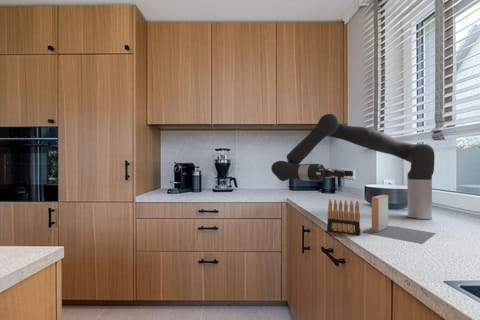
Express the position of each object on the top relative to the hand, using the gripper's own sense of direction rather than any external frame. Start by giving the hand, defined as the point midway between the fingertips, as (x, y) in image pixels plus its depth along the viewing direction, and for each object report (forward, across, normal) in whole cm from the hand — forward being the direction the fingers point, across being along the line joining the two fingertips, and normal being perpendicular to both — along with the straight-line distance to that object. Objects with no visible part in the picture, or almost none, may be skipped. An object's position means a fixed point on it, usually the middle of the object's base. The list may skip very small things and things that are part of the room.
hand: (348, 173), depth 107 cm
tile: (+12, 0, +20) cm, 23 cm away
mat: (+18, 0, +20) cm, 27 cm away
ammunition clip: (+5, -14, +20) cm, 25 cm away
